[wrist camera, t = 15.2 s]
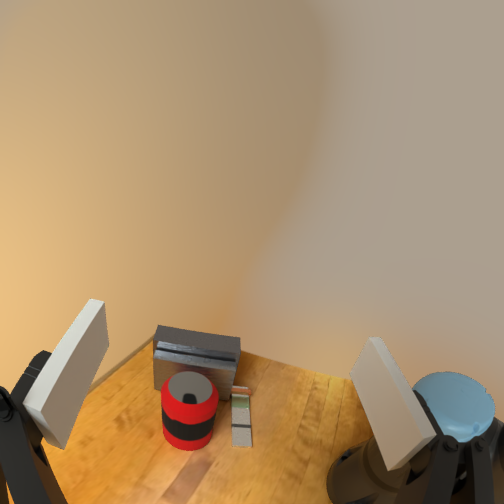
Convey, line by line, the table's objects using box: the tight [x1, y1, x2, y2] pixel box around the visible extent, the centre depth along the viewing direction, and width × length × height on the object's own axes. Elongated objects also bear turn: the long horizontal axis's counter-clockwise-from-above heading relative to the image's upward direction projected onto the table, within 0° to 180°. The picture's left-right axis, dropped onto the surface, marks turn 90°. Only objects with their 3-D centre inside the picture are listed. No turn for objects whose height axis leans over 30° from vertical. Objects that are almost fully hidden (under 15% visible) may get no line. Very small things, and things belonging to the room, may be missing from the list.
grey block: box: [153, 350, 251, 400], centre depth 46 cm, size 17×7×8 cm, turn 93°
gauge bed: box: [153, 325, 252, 448], centre depth 41 cm, size 17×16×10 cm
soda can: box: [161, 371, 219, 451], centre depth 35 cm, size 8×8×12 cm
